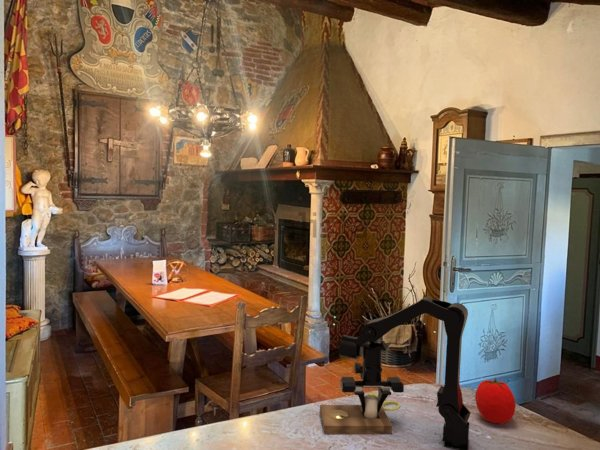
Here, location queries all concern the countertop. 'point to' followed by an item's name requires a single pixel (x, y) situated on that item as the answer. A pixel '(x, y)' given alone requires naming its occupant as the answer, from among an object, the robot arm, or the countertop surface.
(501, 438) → the countertop surface
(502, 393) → the tomato
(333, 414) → the brass disc
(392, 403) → the key
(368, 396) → the ivory candle
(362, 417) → the walnut holder
